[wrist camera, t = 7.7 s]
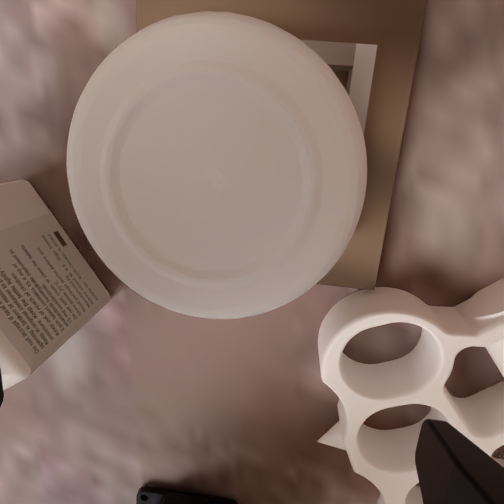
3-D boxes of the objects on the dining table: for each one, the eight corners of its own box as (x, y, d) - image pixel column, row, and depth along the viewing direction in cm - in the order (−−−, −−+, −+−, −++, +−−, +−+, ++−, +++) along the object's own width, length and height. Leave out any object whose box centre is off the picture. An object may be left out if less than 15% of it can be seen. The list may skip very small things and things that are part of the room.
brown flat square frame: (371, 284, 21) (380, 301, 19) (143, 259, 22) (127, 273, 20) (423, -6, 17) (441, -25, 15) (142, -22, 18) (122, -42, 16)
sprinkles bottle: (246, 211, 20) (153, 369, 7) (200, 123, 19) (-10, 110, 6) (335, 168, 19) (423, 257, 6) (291, 72, 18) (282, -79, 5)
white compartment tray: (654, 465, 23) (415, 555, 26) (508, 199, 19) (257, 343, 23) (714, 521, 20) (431, 614, 23) (550, 213, 16) (250, 378, 20)
